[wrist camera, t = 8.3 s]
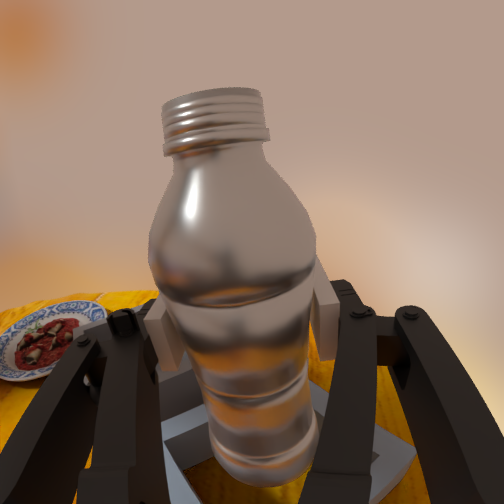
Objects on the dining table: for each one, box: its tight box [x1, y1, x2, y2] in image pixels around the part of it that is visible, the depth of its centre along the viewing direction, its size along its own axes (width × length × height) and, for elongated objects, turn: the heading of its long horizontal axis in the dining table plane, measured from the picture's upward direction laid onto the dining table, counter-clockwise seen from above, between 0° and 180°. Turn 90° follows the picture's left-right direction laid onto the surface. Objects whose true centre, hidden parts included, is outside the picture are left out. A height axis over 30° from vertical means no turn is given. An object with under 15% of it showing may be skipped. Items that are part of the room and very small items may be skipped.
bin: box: [73, 304, 204, 422], centre depth 30 cm, size 16×16×7 cm
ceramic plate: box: [0, 300, 107, 381], centre depth 40 cm, size 26×26×3 cm
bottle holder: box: [161, 380, 417, 504], centre depth 17 cm, size 15×15×5 cm
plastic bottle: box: [148, 87, 320, 488], centre depth 13 cm, size 6×7×20 cm
